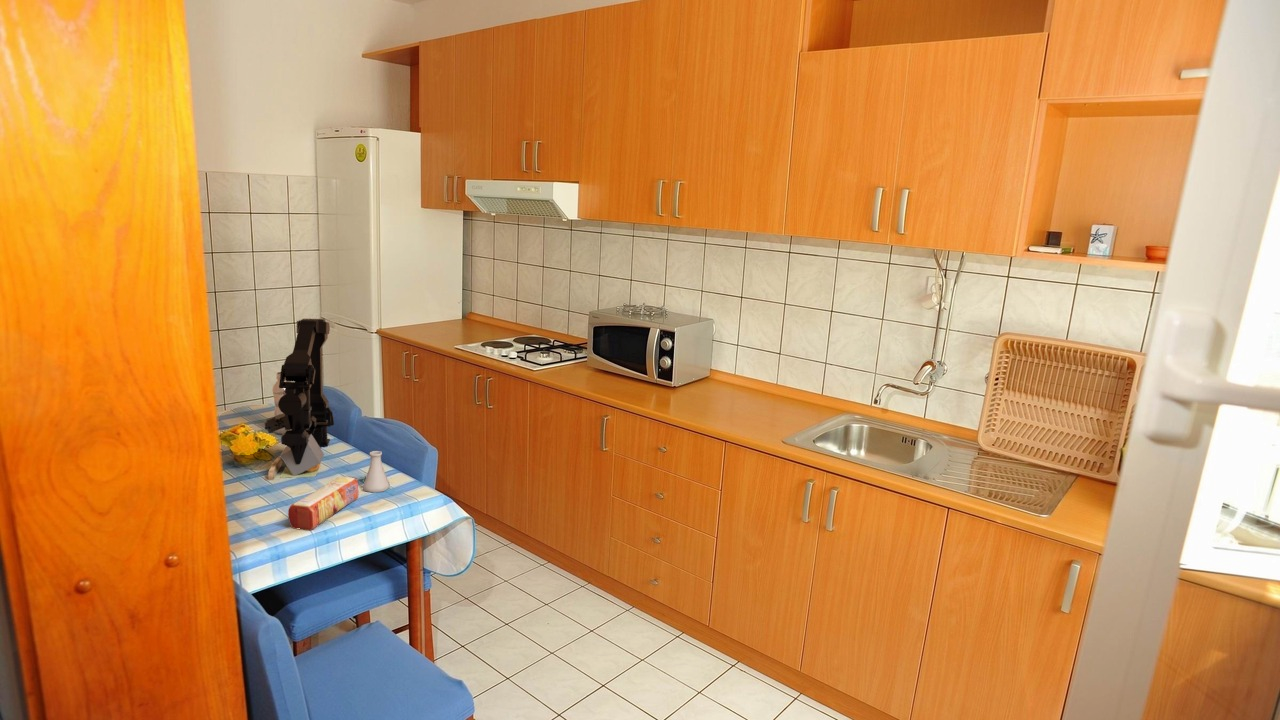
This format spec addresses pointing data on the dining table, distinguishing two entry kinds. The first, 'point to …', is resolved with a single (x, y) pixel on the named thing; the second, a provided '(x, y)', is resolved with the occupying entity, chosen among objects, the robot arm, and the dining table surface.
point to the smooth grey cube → (309, 459)
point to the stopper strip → (274, 468)
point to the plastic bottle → (277, 395)
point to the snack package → (323, 503)
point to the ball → (314, 468)
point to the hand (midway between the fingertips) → (300, 459)
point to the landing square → (288, 474)
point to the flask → (376, 475)
